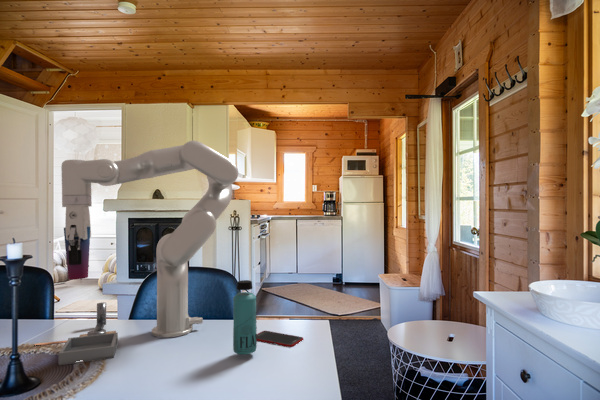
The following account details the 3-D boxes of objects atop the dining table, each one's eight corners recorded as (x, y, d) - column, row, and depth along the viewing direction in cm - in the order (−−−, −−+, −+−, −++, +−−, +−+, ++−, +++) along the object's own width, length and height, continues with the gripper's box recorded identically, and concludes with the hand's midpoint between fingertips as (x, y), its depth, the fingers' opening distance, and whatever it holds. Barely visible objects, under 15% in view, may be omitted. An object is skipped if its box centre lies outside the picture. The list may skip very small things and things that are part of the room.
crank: (104, 337, 115) (105, 313, 115) (86, 339, 113) (86, 315, 113) (110, 322, 130) (110, 301, 130) (93, 324, 128) (93, 303, 128)
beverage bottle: (237, 362, 97) (237, 283, 98) (229, 353, 103) (229, 279, 104) (260, 357, 100) (260, 281, 101) (252, 349, 106) (251, 277, 107)
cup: (78, 280, 108) (77, 227, 108) (58, 280, 109) (57, 227, 110) (96, 276, 114) (95, 226, 114) (78, 275, 116) (77, 226, 116)
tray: (117, 342, 113) (117, 332, 113) (113, 357, 101) (113, 346, 101) (68, 348, 108) (68, 338, 108) (58, 365, 96) (58, 353, 96)
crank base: (115, 332, 122) (115, 330, 122) (113, 340, 115) (113, 338, 115) (38, 341, 114) (38, 339, 114) (30, 350, 107) (30, 348, 107)
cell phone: (264, 333, 122) (264, 330, 122) (304, 340, 114) (304, 337, 114) (249, 340, 115) (249, 337, 115) (291, 349, 108) (291, 345, 108)
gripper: (85, 200, 105) (86, 266, 105) (96, 202, 122) (97, 258, 121) (53, 201, 103) (54, 268, 102) (70, 202, 119) (71, 260, 119)
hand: (78, 262), depth 112 cm, fingers closed on cup, 6 cm apart
